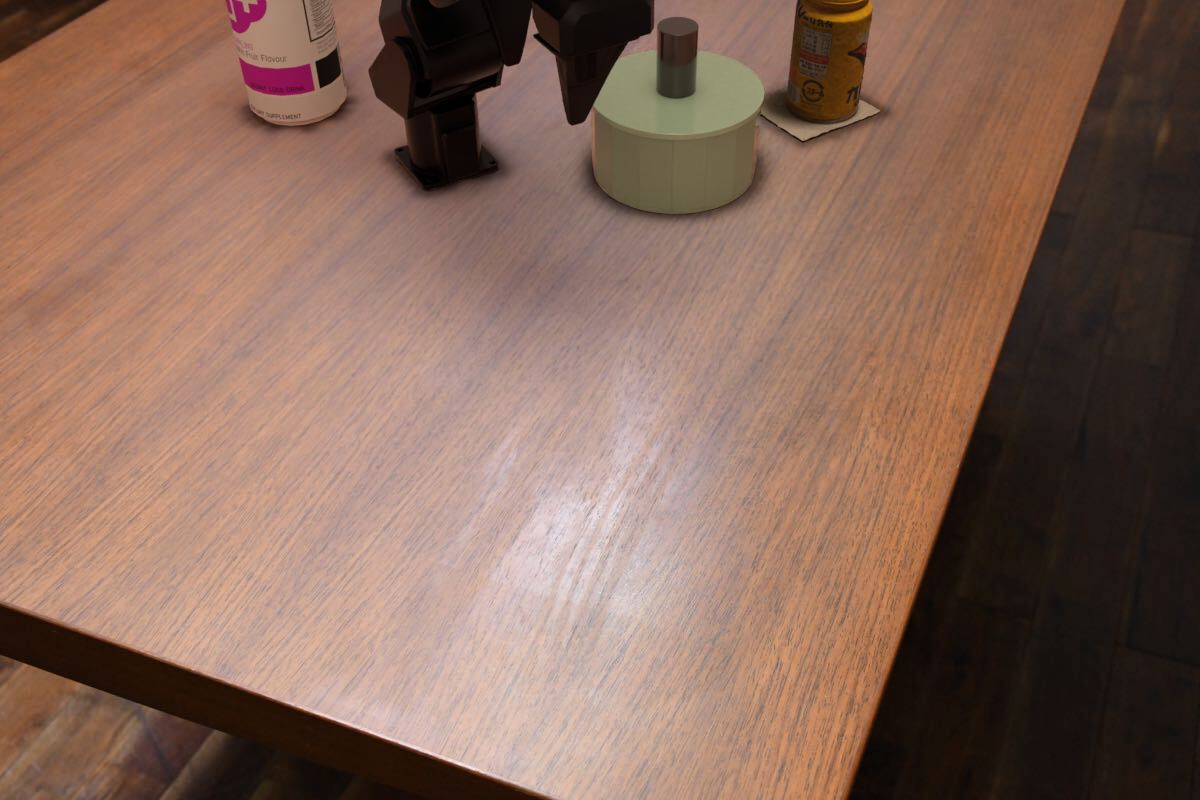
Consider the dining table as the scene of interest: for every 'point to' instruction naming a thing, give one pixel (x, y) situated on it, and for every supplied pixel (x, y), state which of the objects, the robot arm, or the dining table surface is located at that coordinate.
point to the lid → (679, 89)
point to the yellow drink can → (824, 69)
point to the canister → (674, 168)
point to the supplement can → (289, 58)
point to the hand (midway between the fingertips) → (543, 92)
